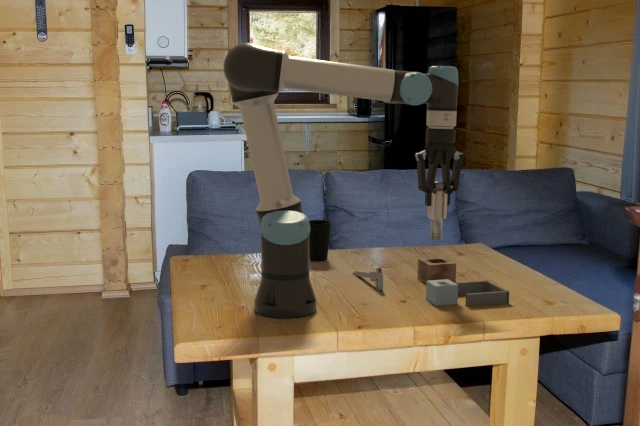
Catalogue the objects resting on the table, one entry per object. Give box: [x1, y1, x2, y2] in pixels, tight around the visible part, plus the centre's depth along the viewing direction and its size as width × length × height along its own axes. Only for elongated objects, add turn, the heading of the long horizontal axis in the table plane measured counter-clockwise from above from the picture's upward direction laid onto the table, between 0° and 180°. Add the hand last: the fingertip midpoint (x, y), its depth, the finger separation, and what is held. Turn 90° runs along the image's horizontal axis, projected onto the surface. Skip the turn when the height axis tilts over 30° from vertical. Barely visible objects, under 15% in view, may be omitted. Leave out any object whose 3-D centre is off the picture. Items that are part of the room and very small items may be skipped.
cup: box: [309, 219, 332, 263], centre depth 240 cm, size 8×8×12 cm
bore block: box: [417, 256, 457, 285], centre depth 214 cm, size 8×8×6 cm
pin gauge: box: [429, 181, 445, 241], centre depth 199 cm, size 3×3×15 cm
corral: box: [455, 279, 510, 307], centre depth 197 cm, size 12×12×3 cm
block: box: [425, 279, 459, 306], centre depth 195 cm, size 6×6×5 cm
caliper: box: [352, 267, 384, 292], centre depth 213 cm, size 20×1×6 cm, turn 18°
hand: (436, 217), depth 200 cm, fingers closed on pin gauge, 3 cm apart
